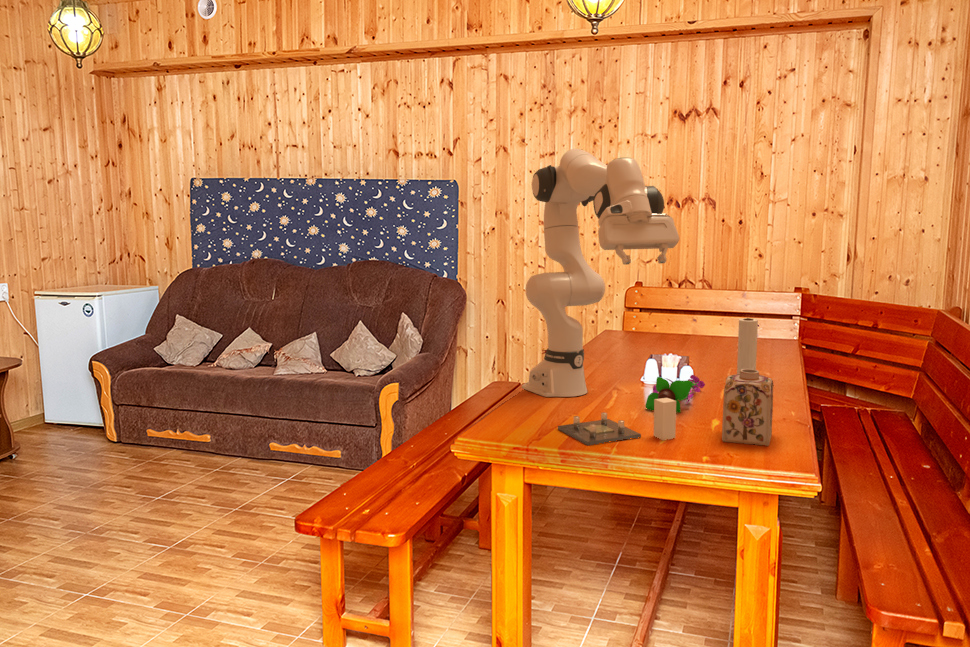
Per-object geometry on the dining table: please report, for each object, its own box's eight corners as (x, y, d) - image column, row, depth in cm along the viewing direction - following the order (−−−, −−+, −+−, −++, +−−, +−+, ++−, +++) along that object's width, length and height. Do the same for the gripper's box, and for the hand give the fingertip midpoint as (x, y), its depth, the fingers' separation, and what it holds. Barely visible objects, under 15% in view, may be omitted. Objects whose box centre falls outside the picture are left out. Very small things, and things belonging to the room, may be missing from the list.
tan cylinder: (749, 384, 269) (751, 321, 266) (733, 381, 274) (735, 319, 270) (760, 381, 274) (763, 318, 270) (744, 378, 278) (746, 316, 275)
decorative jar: (726, 429, 218) (728, 364, 216) (772, 434, 214) (775, 367, 211) (721, 442, 208) (723, 373, 205) (769, 447, 203) (772, 377, 200)
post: (653, 436, 213) (654, 399, 212) (666, 434, 215) (667, 397, 213) (662, 440, 210) (663, 402, 208) (675, 438, 211) (676, 401, 210)
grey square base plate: (557, 429, 221) (557, 415, 220) (608, 422, 227) (608, 408, 226) (587, 445, 206) (587, 430, 205) (640, 437, 212) (641, 422, 212)
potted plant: (648, 428, 235) (680, 409, 266) (699, 405, 227) (726, 388, 258) (629, 390, 237) (663, 375, 268) (678, 366, 229) (708, 354, 260)
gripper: (666, 220, 209) (678, 267, 204) (592, 221, 204) (602, 270, 199) (676, 207, 204) (689, 255, 198) (600, 208, 199) (611, 258, 194)
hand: (645, 262), depth 199 cm, fingers open, 8 cm apart
